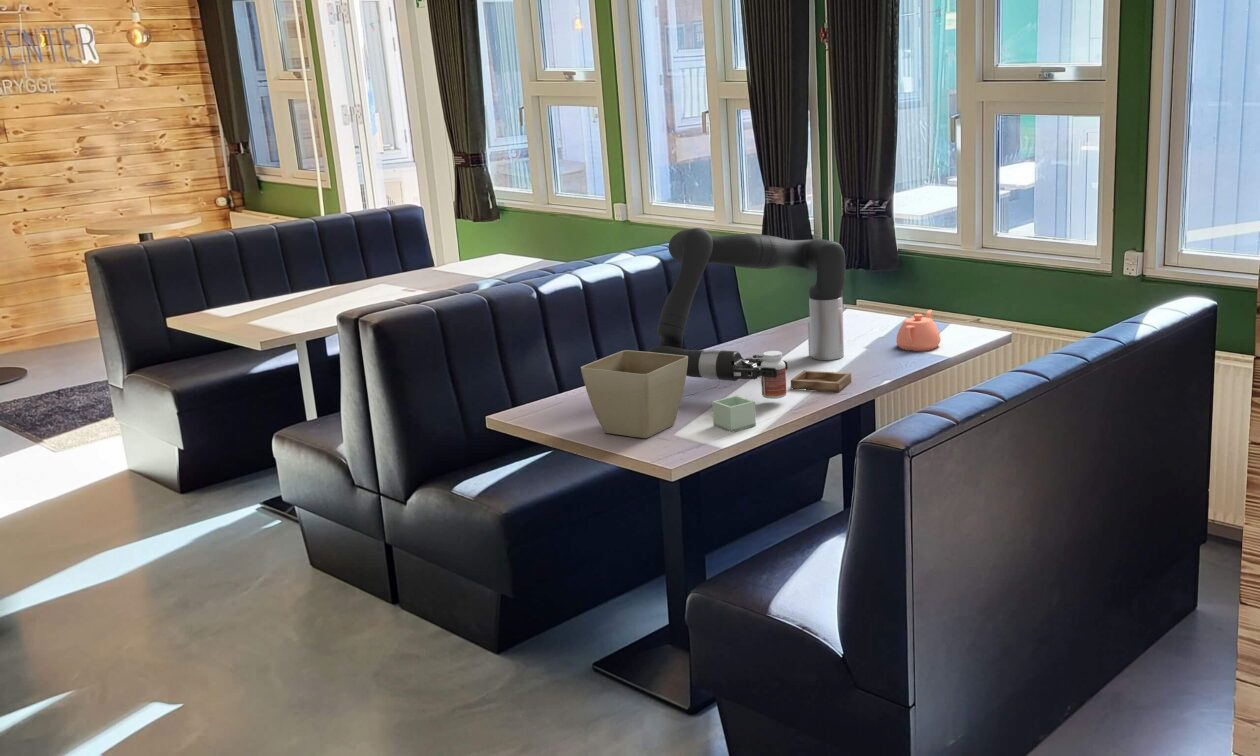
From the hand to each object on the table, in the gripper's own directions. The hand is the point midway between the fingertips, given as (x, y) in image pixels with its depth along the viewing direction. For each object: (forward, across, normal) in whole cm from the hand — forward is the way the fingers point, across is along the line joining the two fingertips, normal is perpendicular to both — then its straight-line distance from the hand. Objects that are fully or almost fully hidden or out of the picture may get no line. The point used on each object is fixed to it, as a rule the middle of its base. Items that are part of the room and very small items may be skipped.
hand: (782, 369), depth 304 cm
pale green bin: (-5, -20, +9) cm, 22 cm away
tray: (+4, +18, +9) cm, 21 cm away
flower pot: (-26, -29, +9) cm, 40 cm away
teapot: (+17, +65, +10) cm, 68 cm away
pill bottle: (-2, 0, +7) cm, 8 cm away
